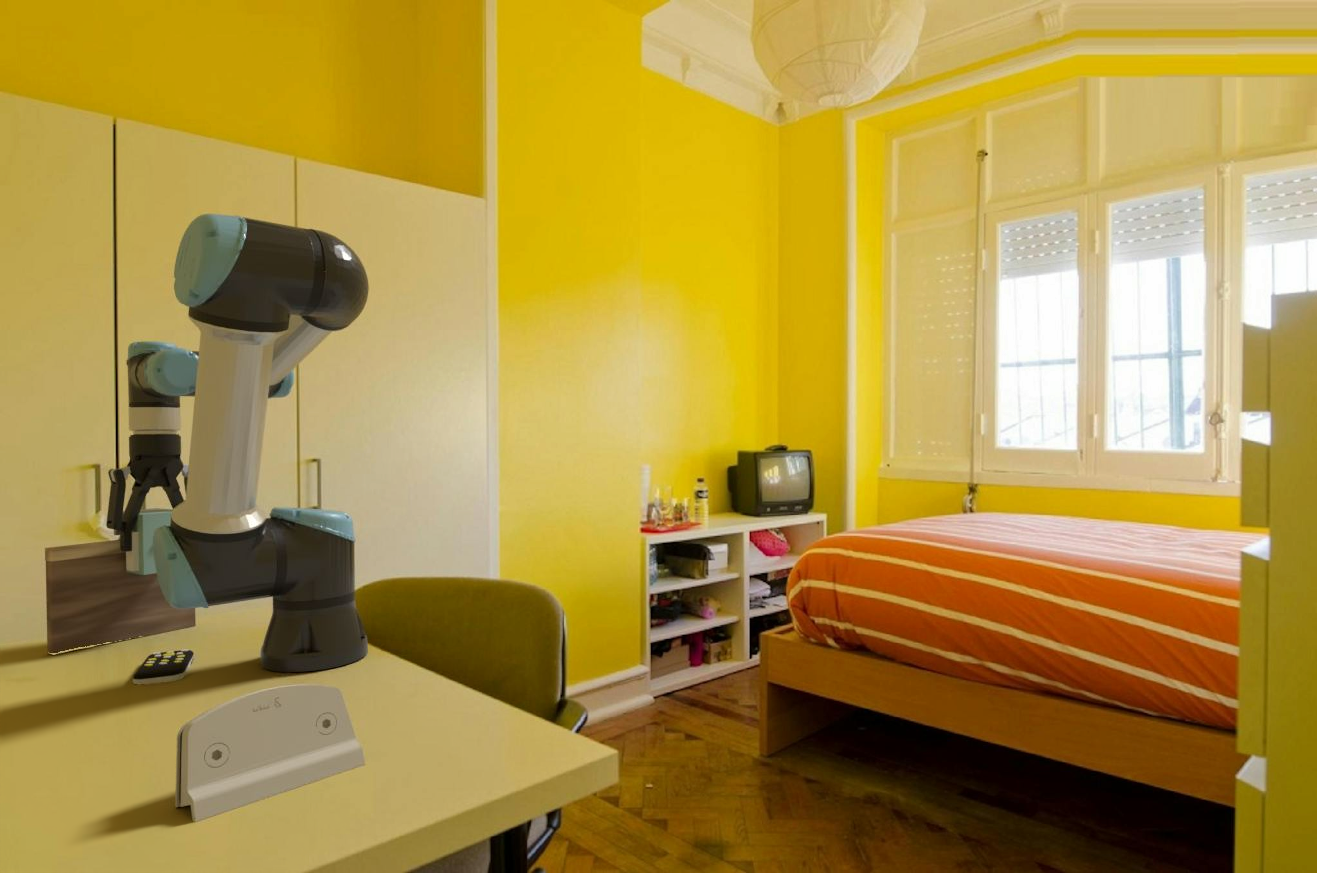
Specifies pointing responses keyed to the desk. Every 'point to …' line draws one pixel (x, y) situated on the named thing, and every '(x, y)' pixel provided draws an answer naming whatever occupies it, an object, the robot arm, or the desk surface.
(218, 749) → the grey mounting bracket
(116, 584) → the wall board
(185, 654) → the remote control
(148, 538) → the cabinet
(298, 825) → the desk surface
